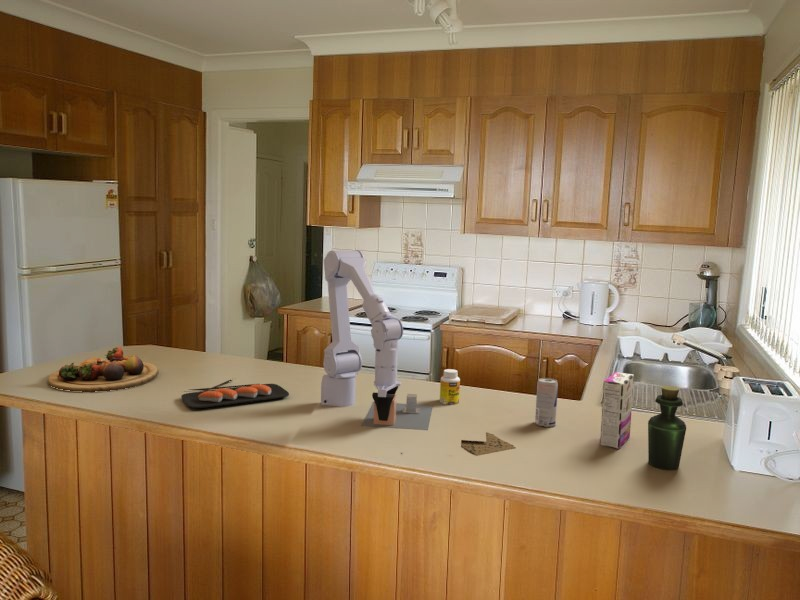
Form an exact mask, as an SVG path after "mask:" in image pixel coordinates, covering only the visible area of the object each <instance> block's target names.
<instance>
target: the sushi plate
mask: <svg viewBox="0 0 800 600" xmlns="http://www.w3.org/2000/svg"><path fill="white" fill-rule="evenodd" d="M229 381H231V379H229V380H226V381H224V382H221V383H220V384H218V385H217V384H216V385H214V386H212V387H203V388H191V389H189V390H202V391H192V392H186V393H184V394H182V395H181V396H180V397H181V400H182V401H183V403H184V404H185V405H186V406H188V407H189V408H191V409H204V408H205V409H207V408H214V407H215V406H216V407H224V406H230V405H238V403H239V404H246V403H253V402H260V401H261V400H262V401H267V400H268V401H270V400H274V399H280V398H287V397H288V396H290V392H288V390H286V389H285V388H284V387H282V386H281V385H278V384H276V383H264V384H262V383H261V384H260V383H251V384H241V385H229V386H228V385H227V384H228V383H227V382H229ZM231 382H232V381H231ZM229 383H230V382H229ZM225 385H227V386H225ZM223 405H224V406H223Z"/></svg>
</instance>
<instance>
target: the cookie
mask: <svg viewBox="0 0 800 600" xmlns="http://www.w3.org/2000/svg"><path fill="white" fill-rule="evenodd" d="M485 439H486V440H485V441H481V440H465V439H461V441H460V448H462V449H463V450H465V451H467V452H469V453H471V454H472V455H474V456H475V457H478V456H482V455H488V454H493V453H498V452H499V453H500V452H504V451H507V450H508V451H509V450H513V449H514V450H515V449H517V448H516V447H515V446H514V444H511V443H509V442H508V441H505V440H503V439H502V438H499V437H498V436H496V435H495V434H493V433H490V432H488V431H487V432H485Z"/></svg>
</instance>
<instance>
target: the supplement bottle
mask: <svg viewBox="0 0 800 600" xmlns="http://www.w3.org/2000/svg"><path fill="white" fill-rule="evenodd" d="M460 386H461V378H460V377H459V376H458V370H456V369H451V368H447V369H446V368H445V369H444V370H443V375H442V376H441V377H440V386H439V388H440V389H439V390H440V391H439V403H440V404H442V405H446V406H447V405H449V406H452V405H453V406H454V405H455V406H456V405H457V404H459V403H460V388H461V387H460Z"/></svg>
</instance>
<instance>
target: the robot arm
mask: <svg viewBox="0 0 800 600" xmlns="http://www.w3.org/2000/svg"><path fill="white" fill-rule="evenodd" d="M323 267H324V269H323V270H324V279H325V281H326V282H327V293H328V294H327V295H328V302H329V303H328V305H329V315H330V316H329V317H330V327H331V330H330V331H331V340H332V342H330V344H328V345H327V347H326V348H325V349H323V350H324V351H323V352H324V357H323V362H322V363H323V364H322V365H323V370H324V372H325V373H326V374H323V376H322V378H321V385H320V405H321V406H333V407H340V408H341V407H342V408H343V407H344V408H346V407H350V406H351V407H352V406H354V405H356V377H357V376H359V375H358V374H359V372H360V371H361V370H362V366H363V358H362V355H361V353H360V347H359V345H358V344H356V343H355V342H354V341H353V340H352V335H351V322H350V321H351V320H350V313H349V311H350V309H349V298H348V287H347V285H348V284H349V283H350V281H351V282H352V284H353V285H354V287H355V289H356V290H357V291H358V293H359V295H360V296H361V298H362V299H363V301H362V305H361V307H362V309H363V311H364V314H366V316H367V318H368V320H369V323H370V324H371V325H370V326H371V329H370V334H371V338H372V340H373V348H374V349H375V355H374V356H375V357H374V358H375V360H374V361H375V363H374V381H373V385H374V387H375V388H376V389H377V392H374V391H373V392H372V395H371V396H372V399H373V402H374V401H375V404H376V407H377V412H378V417H379V420H380V421H387V420H388V417H389V411H390V406H391V403H392V400H393V398H394V396H395V395H396V393H397V391H398V389H399V387H401V386H402V381H398V354H399V353H398V351H399V348H398V347H399V340H400V339H402V337H403V335H404V326H403V323H402V321H401V319H400V318H398V317H396V316H395V315H394V314H391V311H390V310H389V308H388V305H387V304H386V302H385V300H384V298H383V297H382V295H380V294H377V293H376V292H375V290H374V287H373V285H372V282H371V281H370V278H369V275H368V273H367V271H366V267H367V259H365V256H364V253H363V252H362V250H359V249H355V250H329V251H328V252H327V254H326V255H325V257H324V259H323ZM388 394H392V395H388Z"/></svg>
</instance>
